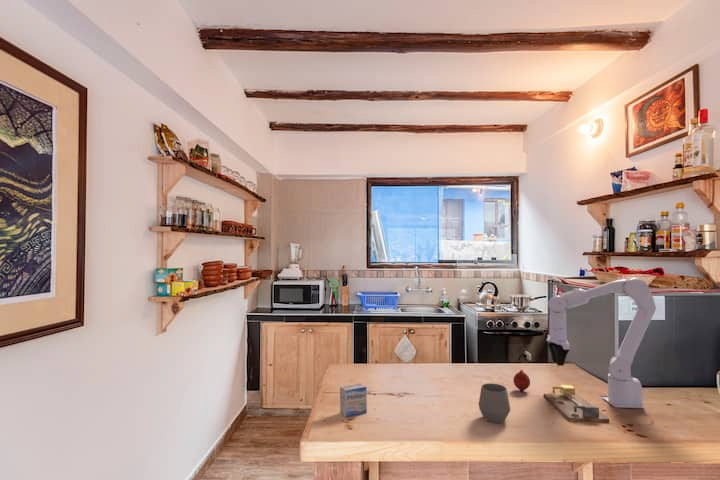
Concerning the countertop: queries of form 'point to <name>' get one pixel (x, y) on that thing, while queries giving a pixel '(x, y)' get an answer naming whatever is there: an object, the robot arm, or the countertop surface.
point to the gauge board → (576, 408)
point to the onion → (521, 380)
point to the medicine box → (353, 400)
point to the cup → (494, 402)
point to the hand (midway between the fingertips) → (558, 363)
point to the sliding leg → (565, 389)
